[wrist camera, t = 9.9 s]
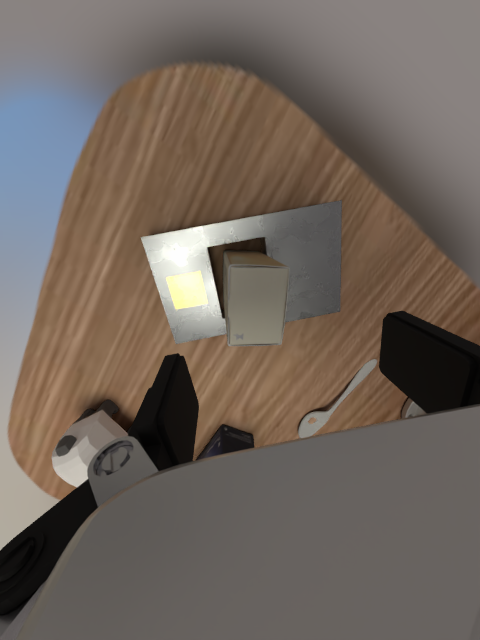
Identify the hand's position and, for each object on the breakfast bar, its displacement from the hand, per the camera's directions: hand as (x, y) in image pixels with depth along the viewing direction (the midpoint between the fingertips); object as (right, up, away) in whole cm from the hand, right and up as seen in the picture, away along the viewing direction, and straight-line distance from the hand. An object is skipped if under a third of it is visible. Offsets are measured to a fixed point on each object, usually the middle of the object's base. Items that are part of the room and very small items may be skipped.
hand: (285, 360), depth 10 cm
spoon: (+14, -10, +26) cm, 32 cm away
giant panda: (-20, -15, +24) cm, 35 cm away
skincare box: (-2, +7, +17) cm, 19 cm away
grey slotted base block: (-1, +8, +17) cm, 18 cm away
